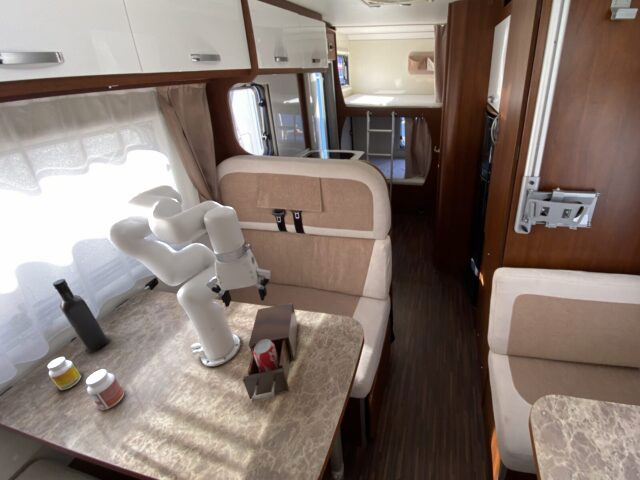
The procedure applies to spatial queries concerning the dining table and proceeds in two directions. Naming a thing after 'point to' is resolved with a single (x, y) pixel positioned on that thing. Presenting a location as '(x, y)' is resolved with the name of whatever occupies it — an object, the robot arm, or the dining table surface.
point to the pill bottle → (104, 389)
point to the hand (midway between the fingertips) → (246, 300)
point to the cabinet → (275, 326)
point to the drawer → (268, 375)
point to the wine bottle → (80, 317)
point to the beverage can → (266, 356)
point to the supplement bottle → (63, 373)
